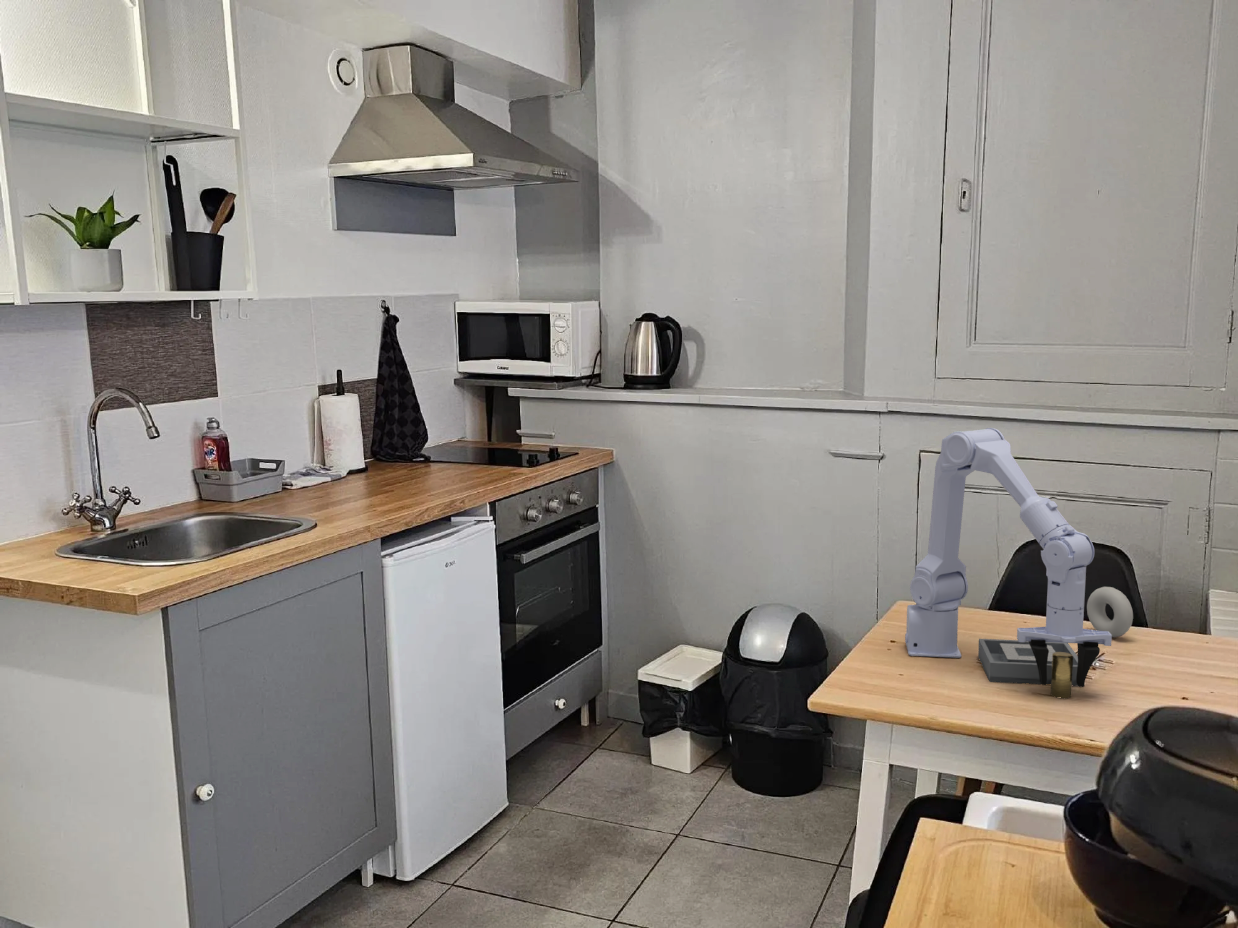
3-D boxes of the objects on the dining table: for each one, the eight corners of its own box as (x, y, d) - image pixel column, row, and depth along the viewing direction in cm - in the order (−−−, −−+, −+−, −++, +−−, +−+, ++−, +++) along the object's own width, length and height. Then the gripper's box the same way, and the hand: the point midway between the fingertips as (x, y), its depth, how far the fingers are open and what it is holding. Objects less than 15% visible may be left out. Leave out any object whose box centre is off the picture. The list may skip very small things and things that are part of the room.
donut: (1081, 630, 213) (1083, 582, 211) (1094, 628, 214) (1096, 580, 213) (1122, 644, 204) (1125, 594, 202) (1135, 642, 205) (1138, 592, 203)
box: (989, 681, 185) (990, 662, 184) (978, 656, 198) (978, 638, 197) (1084, 686, 182) (1085, 666, 181) (1066, 660, 195) (1067, 642, 195)
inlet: (1007, 672, 186) (1007, 659, 186) (998, 656, 195) (999, 643, 195) (1061, 675, 185) (1062, 661, 184) (1050, 658, 193) (1051, 645, 193)
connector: (1052, 697, 177) (1054, 657, 176) (1048, 691, 180) (1050, 651, 179) (1073, 698, 176) (1075, 658, 175) (1068, 691, 179) (1070, 652, 178)
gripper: (1023, 610, 173) (1020, 690, 175) (1118, 614, 171) (1113, 694, 173) (1016, 599, 180) (1012, 675, 182) (1107, 602, 178) (1102, 679, 180)
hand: (1061, 683), depth 178 cm, fingers open, 5 cm apart
